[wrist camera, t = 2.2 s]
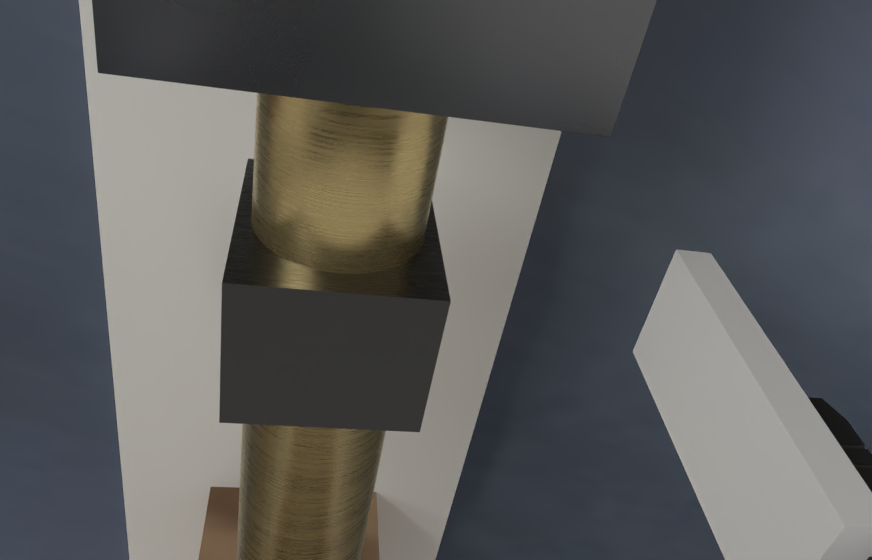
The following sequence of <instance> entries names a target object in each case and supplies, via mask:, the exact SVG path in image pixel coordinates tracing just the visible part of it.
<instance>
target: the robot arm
mask: <svg viewBox="0 0 872 560" xmlns="http://www.w3.org/2000/svg"><path fill="white" fill-rule="evenodd" d="M633 354H634V356H635V358H636V360H637V363H638V365H639V367H640V369H641V372H642V374H643V376H644V378H645V381H646V383H647V385H648V387H649V390H650V392H651V394H652V396H653V399H654V401H655V403H656V405H657V408H658V410H659V412H660V414H661V417H662V419H663V421H664V423H665V426H666V428H667V430H668V432H669V435H670V437H671V439H672V441H673V444H674V446H675V448H676V450H677V453H678V455H679V457H680V459H681V462H682V464H683V466H684V469H685V471H686V473H687V475H688V478H689V480H690V482H691V484H692V487H693V489H694V491H695V493H696V496H697V498H698V500H699V502H700V505H701V507H702V509H703V511H704V514H705V516H706V518H707V520H708V523H709V525H710V527H711V529H712V532H713V534H714V536H715V538H716V541H717V543H718V545H719V547H720V550H721V552H722V554H723V556H724V559H725V560H872V455H871V453H870V452H869V451H868V450H866V449H864V443H863V442H862V441H861V439H860V438H859V436H858V435H857V434H856V432H855V431H854V429H853V428H852V426H851V425H850V424H849V422H848V421H847V420H846V419H845V418H844V417H843V416H841V415H840V414H839V413H838V412H837V411H836V410H835V409H833V408H832V407H831V406H830V405H829V404H828V403H826V402H825V401H824V400H823V399H821V398H808V397H807V395H806V394H805V393H804V391H803V390H802V388H801V387H800V385H799V384H798V382H797V381H796V379H795V378H794V376H793V375H792V373H791V372H790V370H789V369H788V367H787V366H786V364H785V363H784V361H783V360H782V358H781V357H780V355H779V354H778V352H777V351H776V349H775V348H774V346H773V345H772V343H771V342H770V340H769V339H768V337H767V336H766V335H765V333H764V332H763V330H762V329H761V327H760V326H759V324H758V323H757V321H756V320H755V318H754V317H753V315H752V314H751V312H750V311H749V309H748V308H747V306H746V305H745V303H744V302H743V300H742V299H741V297H740V296H739V294H738V293H737V291H736V290H735V288H734V287H733V285H732V284H731V282H730V281H729V279H728V278H727V277H726V275H725V274H724V272H723V271H722V269H721V268H720V266H719V265H718V263H717V262H716V260H715V259H714V257H713V256H712V254H711V253H705V252H695V251H686V250H676V251H675V253H674V256H673V258H672V260H671V263H670V265H669V267H668V270H667V272H666V274H665V277H664V279H663V281H662V284H661V286H660V288H659V291H658V293H657V295H656V298H655V300H654V303H653V305H652V307H651V310H650V312H649V314H648V317H647V319H646V321H645V324H644V326H643V328H642V331H641V333H640V335H639V338H638V340H637V342H636V345H635V347H634V349H633Z"/></svg>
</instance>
